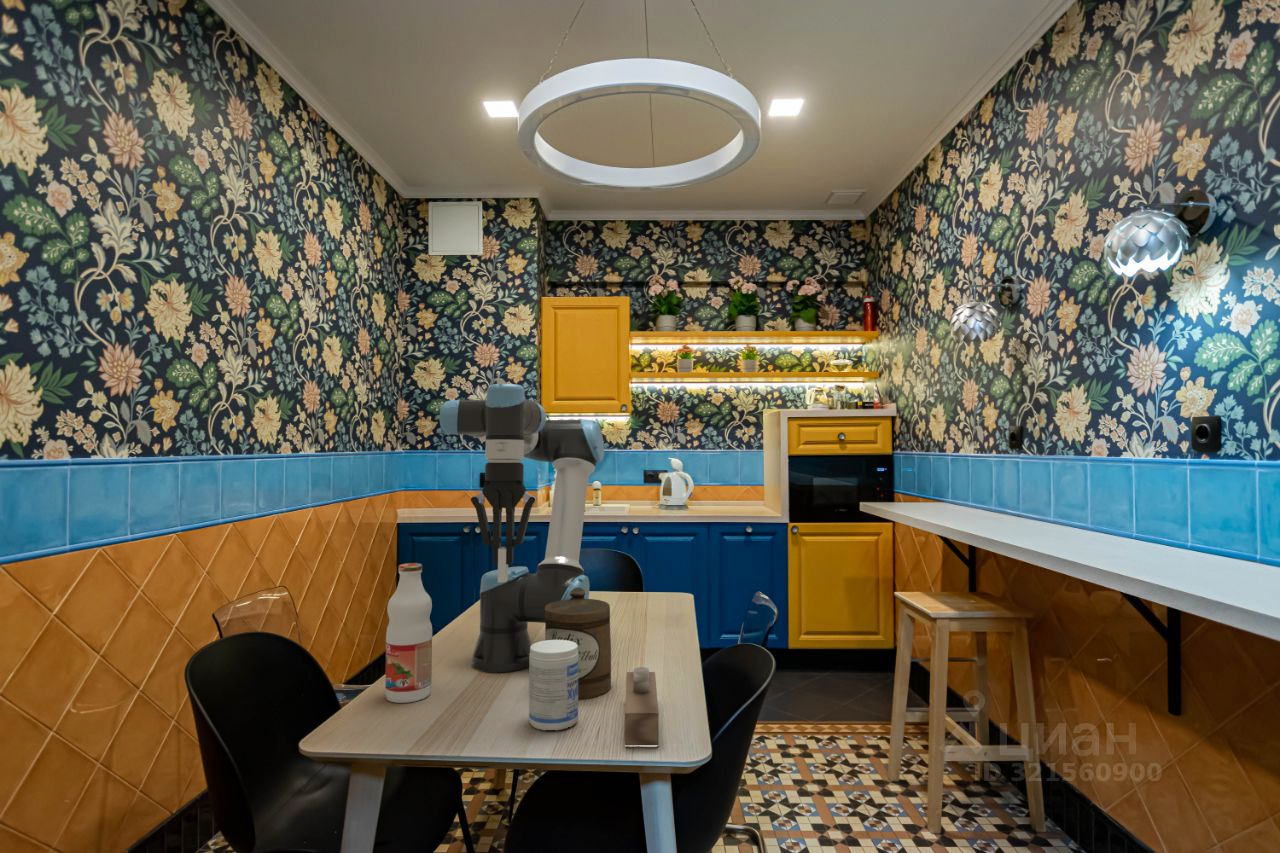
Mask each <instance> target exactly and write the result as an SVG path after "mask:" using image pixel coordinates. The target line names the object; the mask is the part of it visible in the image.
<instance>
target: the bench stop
mask: <svg viewBox="0 0 1280 853" xmlns="http://www.w3.org/2000/svg"><path fill="white" fill-rule="evenodd" d="M656 678H657V677H656V671H650V670H649V668H647V667H643V666H641V667H634V668H633V671H626V679H625V700H624V746H625V745H659V740H660V739H659V735H660V733H659V731H660V730H659V725H660V724H659V715H660V714H659V704H658V692H657V679H656ZM659 746H660V745H659Z"/></svg>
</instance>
